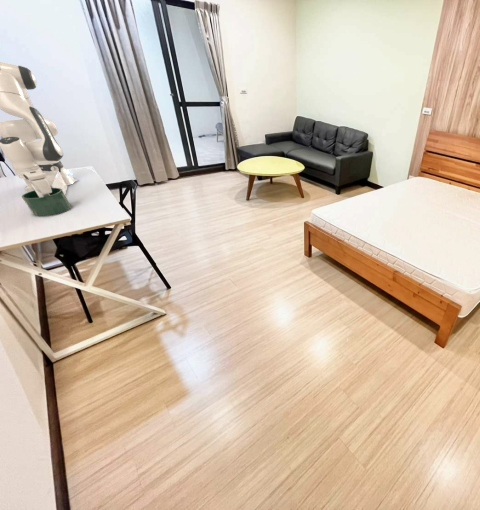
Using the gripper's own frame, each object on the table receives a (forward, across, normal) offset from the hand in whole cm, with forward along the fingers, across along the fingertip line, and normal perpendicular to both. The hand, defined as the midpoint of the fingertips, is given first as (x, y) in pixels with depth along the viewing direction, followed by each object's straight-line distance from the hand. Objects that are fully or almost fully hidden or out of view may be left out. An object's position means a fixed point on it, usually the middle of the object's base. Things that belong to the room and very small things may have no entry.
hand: (45, 198), depth 142 cm
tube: (+7, 0, 0) cm, 7 cm away
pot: (+7, 0, 0) cm, 7 cm away
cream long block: (+7, -23, +8) cm, 26 cm away
